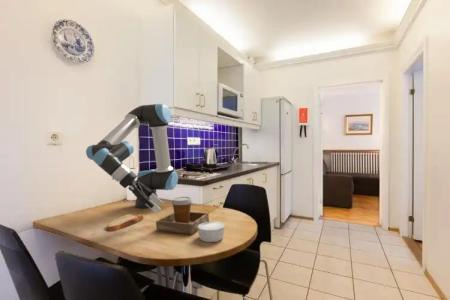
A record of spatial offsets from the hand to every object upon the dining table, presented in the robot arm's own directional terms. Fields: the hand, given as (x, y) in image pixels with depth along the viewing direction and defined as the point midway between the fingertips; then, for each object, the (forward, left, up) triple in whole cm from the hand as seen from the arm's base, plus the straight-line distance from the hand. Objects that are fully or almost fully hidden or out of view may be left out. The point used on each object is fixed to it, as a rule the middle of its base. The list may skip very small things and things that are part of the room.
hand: (159, 207), depth 112 cm
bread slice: (-2, -21, -10) cm, 24 cm away
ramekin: (+5, +27, -10) cm, 30 cm away
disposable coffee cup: (-7, +8, -9) cm, 14 cm away
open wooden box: (-5, +9, -10) cm, 15 cm away
